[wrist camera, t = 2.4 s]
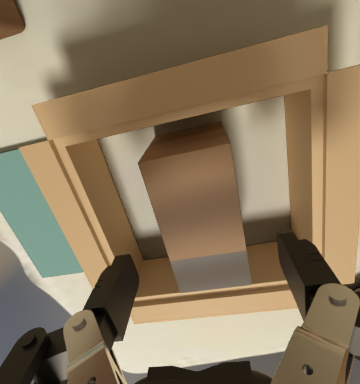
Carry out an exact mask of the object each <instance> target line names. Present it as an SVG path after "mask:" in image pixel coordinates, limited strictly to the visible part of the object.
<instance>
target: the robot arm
mask: <svg viewBox="0 0 360 384" xmlns="http://www.w3.org/2000/svg"><path fill="white" fill-rule="evenodd" d="M277 245H278V256H279V262H280V265H281V268H282V271H283V273H284V276H285V278H286V280H287V283H288V285H289V287H290V290H291V292H292V294H293V297H294V299H295V302H296V304H297V306H298V309H299V311H300V313H301V316H302V318H303V321H304V322H303V325H302V326H301V327H300V326H297V327H296V329H295V330H294V332H293V335H292V337H291V339H290V341H289V344H288V346H287V348H286V350H285V352H284V355H283V357H282V359H281V361H280V364H279V366H278V368H277V370H276V373H275V375H274V377H273V378H271V377H269V376H267V375H265V374H263V373H260V372H258V371H253V370H251V366H250V362H249V361H241V362H225V363H221V364H218V365H215V366H212V367H210V368H207V369H204V370H201V371H197V372H196V371H192V370H187V369H183V368H179V367H175V366H162V367H149V369H148V375H147V377H145V378H143V379H141V380H139V381H138V382H136V383H135V384H348V382H349V377H350V373H351V369H352V365H353V361H354V357H355V355H356V356H360V296H357V294H356V293H355V292H354V291H352V290H351V289H349V288H348V287H346V286H343V285H342V284H341V283H340V281H339V280H338V278H337V277H336V275H335V274H334V272H333V271H332V269H331V268H330V267H329V265H328V264H327V262H326V261H325V260H324V258H323V256H322V255H321V254H320V252H319V250H318V249H317V247H316V246H315V245H314V244H313V243H311V242H310V241H308V240H307V239H302V240H298V239H297V237H296V235H295V234H294V232H293V231H285V232H278V233H277ZM97 281H98V282H96V284H95V286H94V287H95V288H93V290H92V292H91V294H90V296H89V298H88V300H87V302H86V304H85V306H84V308H83V310H82V311H80V312H78V313H76V314H74V315H73V316H72V317H71V318H70V319H69V320H68V321H67V322H66V324H65V326H64V327H63V328H61V329H58V330H56V331H53V332H51V333H48V334H47V332H46V331H45V329H44V328H41V327H39V328H34V329H32V330H30V331H28V332H27V333H25V334H24V335H23V336H22V337H21V338H20V339H19V340H18V341H17V342H16V344H15V345H14V347H13V348H12V350H11V351H10V353H9V354H8V356H7V358H6V359H5V361H4V362H3V364H2V366H1V367H0V384H30V383H31V381H32V379H33V380H34V381H35V382H34V384H67V382H68V384H127V383H126V381H125V378H124V376H123V373H122V371H121V368H120V366H119V363H118V361H117V358H116V356H115V353H114V351H113V349H112V346H113V343H114V342H115V341H123V338H124V334H125V331H126V328H127V324H128V321H129V317H130V314H131V311H132V307H133V304H134V300H135V297H136V294H137V290H138V287H139V275H138V272H137V269H136V267H135V264H134V262H133V259H132V257H131V255H130V254H124V255H117V256H115V258H114V260H113V262H112V264H111V266H107V267H106V268H105V270H104V271H103V272H102V273H101V275H100V277H99V278H98V280H97Z"/></svg>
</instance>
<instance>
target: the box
mask: <svg viewBox="0 0 360 384" xmlns="http://www.w3.org/2000/svg"><path fill="white" fill-rule="evenodd" d="M138 165H139V168H140V171H141V174H142V177H143V180H144V183H145V186H146V189H147V192H148V195H149V198H150V201H151V205H152V208H153V211H154V214H155V217H156V220H157V223H158V226H159V229H160V232H161V235H162V238H163V241H164V244H165V248H166V251H167V254H168V257H169V260H170V263H171V266H172V269H173V272H174V275H175V278H176V281H177V284H178V287H179V291H180V293H187V292H196V291H204V290H213V289H221V288H230V287H238V286H247V285H252V283H251V276H250V270H249V263H248V257H247V250H246V244H245V237H244V231H243V224H242V218H241V211H240V205H239V198H238V192H237V185H236V179H235V172H234V166H233V159H232V153H231V146H230V142H229V140H228V137H227V135H226V133H225V131H224V129H223V126H222V124H221V122H218V123H214V124H209V125H205V126H201V127H196V128H192V129H187V130H183V131H178V132H174V133H170V134H165V135H161V136H156V137H155V138H154V139H153V141H152V142H151V144H150V145H149V147H148V148H147V150H146V151H145V153H144V154H143V156H142V157H141V159H140V160H139V162H138Z"/></svg>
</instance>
